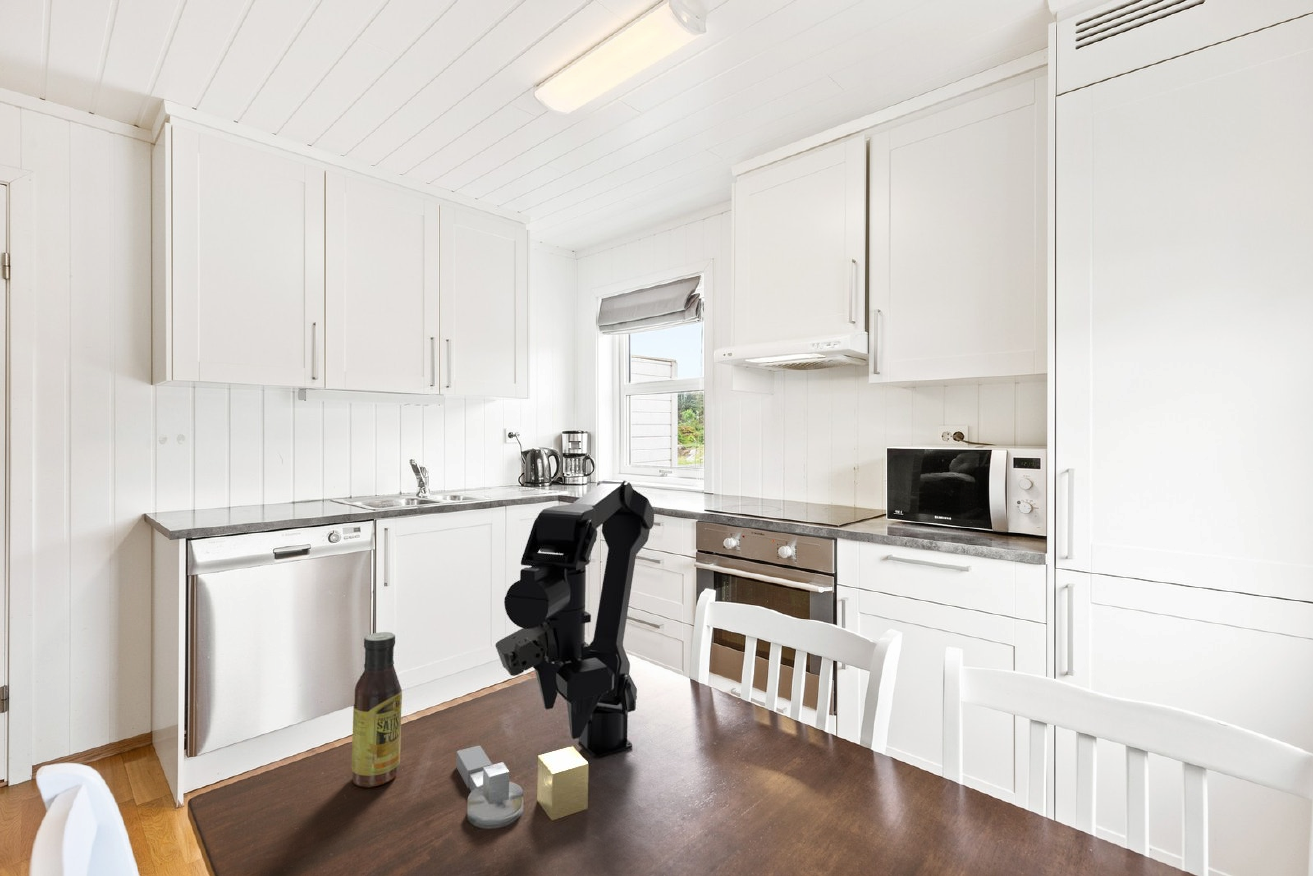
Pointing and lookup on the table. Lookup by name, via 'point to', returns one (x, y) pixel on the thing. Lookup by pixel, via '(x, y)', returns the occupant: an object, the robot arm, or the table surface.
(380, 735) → the sauce bottle
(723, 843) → the table surface
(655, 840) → the table surface
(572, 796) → the wooden toy block
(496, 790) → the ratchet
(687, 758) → the table surface
